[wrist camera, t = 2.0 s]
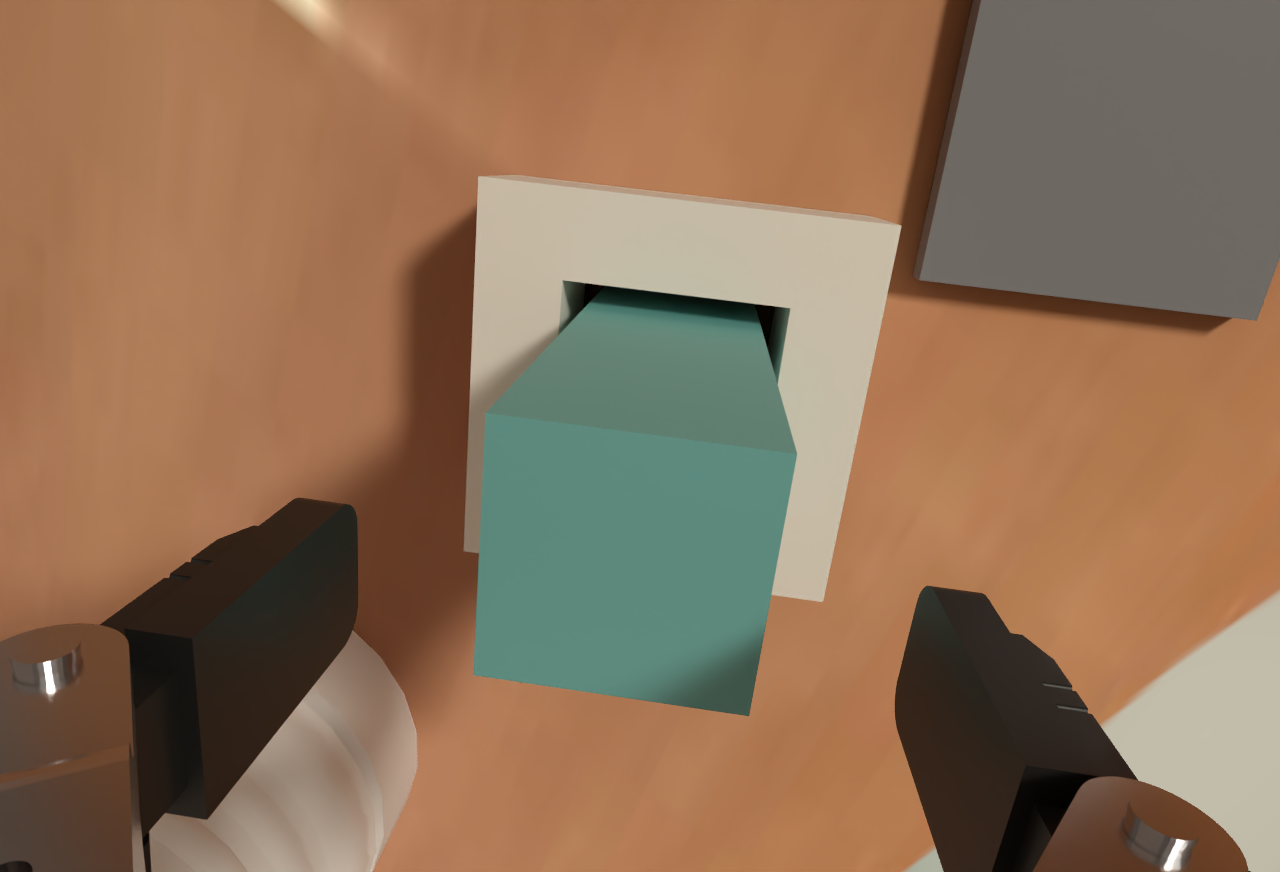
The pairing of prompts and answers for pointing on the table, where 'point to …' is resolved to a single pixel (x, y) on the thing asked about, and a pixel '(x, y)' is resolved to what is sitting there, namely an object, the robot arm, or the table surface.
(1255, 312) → the coaster
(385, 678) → the honey pot
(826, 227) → the pocket block
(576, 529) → the block
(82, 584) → the table surface
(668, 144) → the table surface
